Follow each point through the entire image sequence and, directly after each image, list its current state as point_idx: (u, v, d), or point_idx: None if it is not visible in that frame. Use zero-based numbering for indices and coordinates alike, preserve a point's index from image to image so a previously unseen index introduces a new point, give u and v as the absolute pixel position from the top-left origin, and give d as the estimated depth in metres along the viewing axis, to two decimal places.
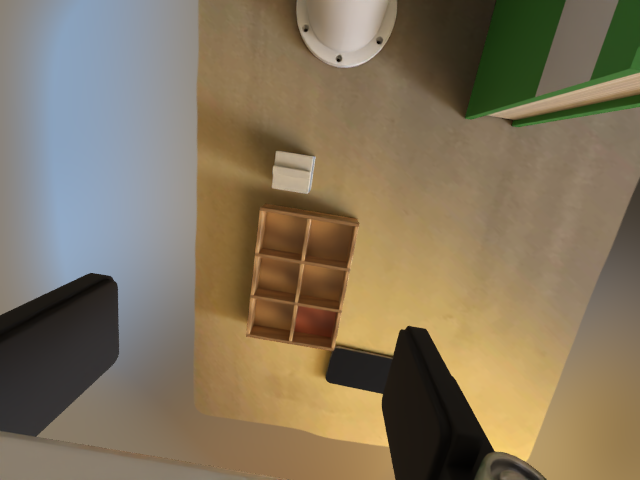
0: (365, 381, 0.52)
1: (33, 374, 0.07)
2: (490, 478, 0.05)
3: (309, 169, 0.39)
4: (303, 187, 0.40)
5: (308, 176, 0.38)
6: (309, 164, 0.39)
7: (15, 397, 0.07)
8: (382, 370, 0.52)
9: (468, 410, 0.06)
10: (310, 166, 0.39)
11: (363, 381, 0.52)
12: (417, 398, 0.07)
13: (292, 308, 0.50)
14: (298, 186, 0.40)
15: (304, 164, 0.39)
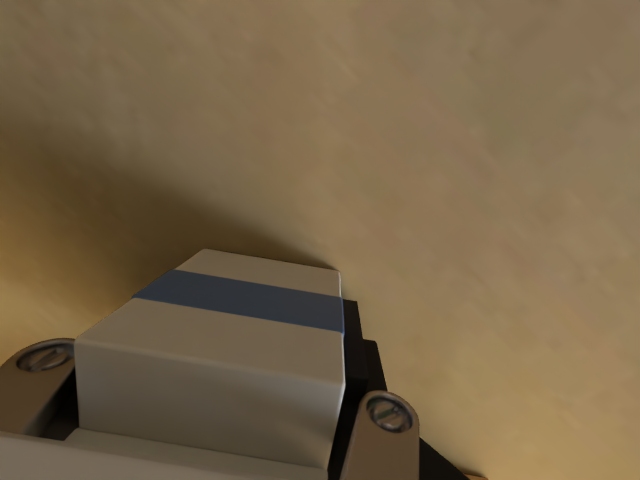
0: None
1: None
2: (364, 407, 0.06)
3: (318, 457, 0.06)
4: None
5: None
6: (318, 429, 0.05)
7: None
8: None
9: (364, 359, 0.07)
10: (325, 440, 0.06)
11: None
12: None
13: None
14: None
15: (283, 428, 0.06)
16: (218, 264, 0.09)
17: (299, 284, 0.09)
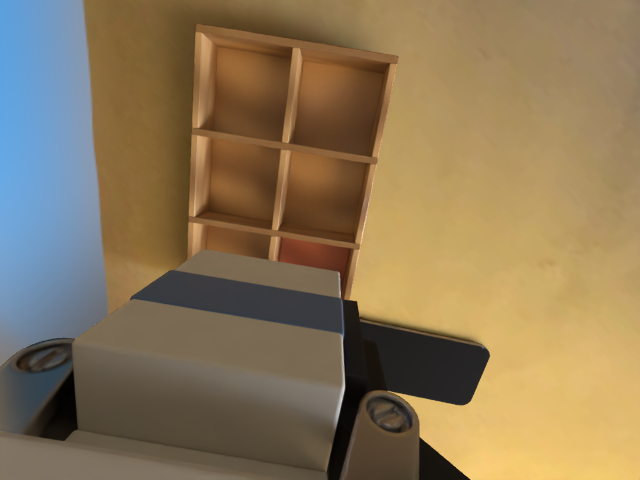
0: (397, 377, 0.31)
1: None
2: (364, 406, 0.06)
3: (318, 459, 0.06)
4: None
5: None
6: (318, 431, 0.05)
7: None
8: (427, 359, 0.30)
9: (364, 359, 0.07)
10: (325, 442, 0.06)
11: (393, 377, 0.31)
12: None
13: None
14: None
15: (282, 430, 0.05)
16: (217, 265, 0.09)
17: (298, 285, 0.09)
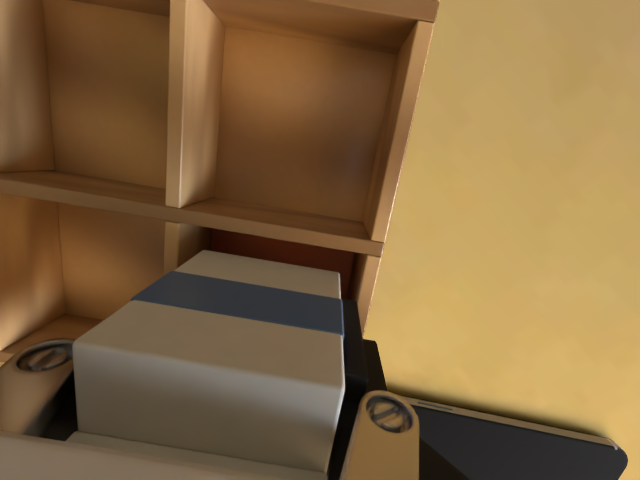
0: None
1: None
2: (364, 406, 0.06)
3: (318, 460, 0.06)
4: None
5: None
6: (318, 433, 0.05)
7: None
8: (503, 466, 0.16)
9: (364, 359, 0.07)
10: (325, 443, 0.06)
11: None
12: None
13: None
14: None
15: (282, 431, 0.05)
16: (217, 266, 0.09)
17: (299, 286, 0.09)
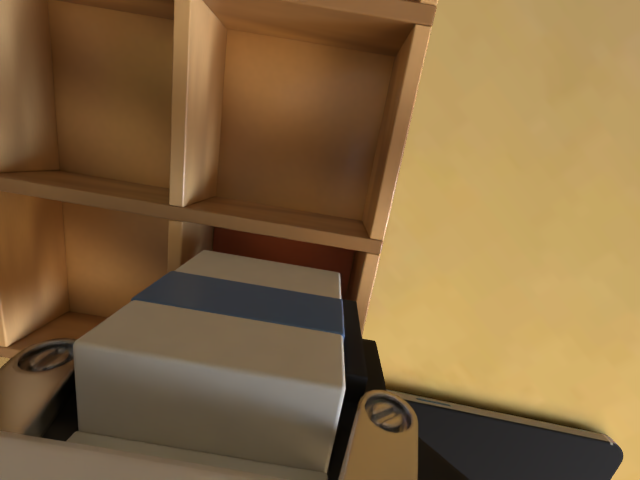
0: None
1: None
2: (363, 406, 0.06)
3: (318, 460, 0.06)
4: None
5: None
6: (319, 433, 0.05)
7: None
8: (500, 462, 0.16)
9: (363, 359, 0.07)
10: (326, 443, 0.06)
11: None
12: None
13: None
14: None
15: (283, 431, 0.05)
16: (218, 266, 0.09)
17: (299, 286, 0.09)
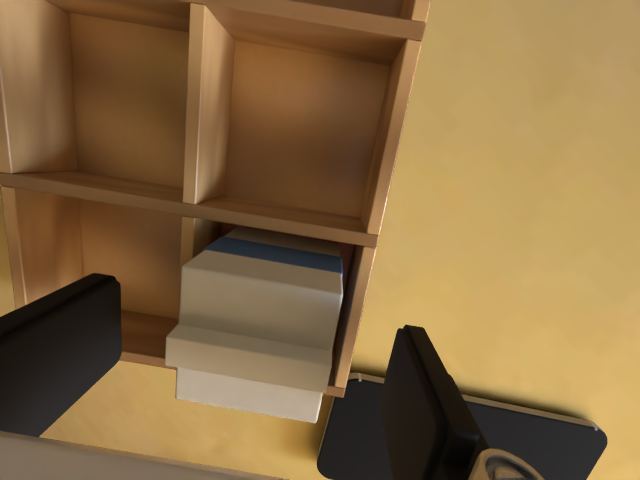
0: None
1: (38, 373, 0.07)
2: (485, 474, 0.05)
3: (326, 342, 0.09)
4: (300, 403, 0.10)
5: (322, 381, 0.09)
6: (326, 323, 0.09)
7: (20, 395, 0.07)
8: (491, 447, 0.17)
9: (464, 408, 0.06)
10: (330, 331, 0.09)
11: None
12: (414, 396, 0.07)
13: None
14: (282, 398, 0.10)
15: (305, 323, 0.09)
16: (252, 235, 0.13)
17: (310, 249, 0.12)
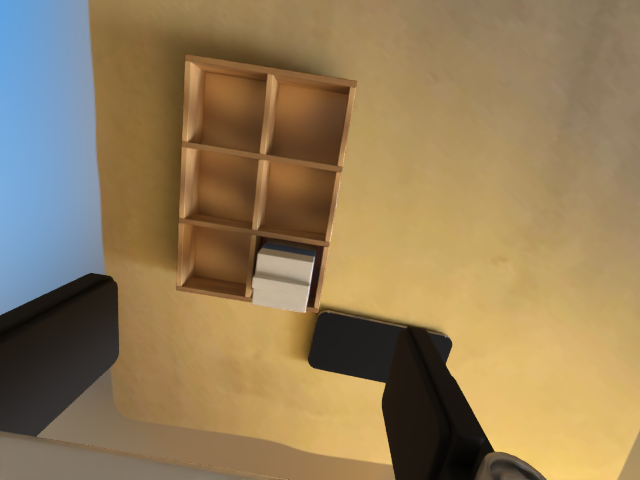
0: (369, 365, 0.34)
1: (33, 374, 0.07)
2: (490, 478, 0.05)
3: (308, 280, 0.26)
4: (299, 304, 0.27)
5: (306, 292, 0.25)
6: (308, 273, 0.26)
7: (15, 397, 0.07)
8: None
9: (468, 410, 0.06)
10: (309, 276, 0.26)
11: (366, 365, 0.34)
12: (417, 398, 0.07)
13: None
14: (292, 302, 0.26)
15: (300, 273, 0.26)
16: (277, 242, 0.30)
17: (303, 247, 0.29)
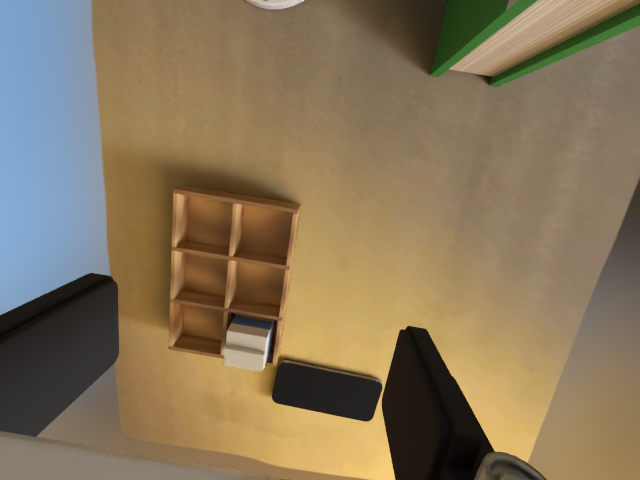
0: (319, 401, 0.44)
1: (33, 374, 0.07)
2: (490, 478, 0.05)
3: (263, 349, 0.35)
4: (258, 365, 0.36)
5: (262, 359, 0.35)
6: (263, 344, 0.35)
7: (15, 397, 0.07)
8: (339, 389, 0.43)
9: (468, 410, 0.06)
10: (264, 346, 0.35)
11: (317, 401, 0.44)
12: (417, 398, 0.07)
13: None
14: (252, 364, 0.36)
15: (258, 344, 0.35)
16: None
17: (264, 319, 0.39)
